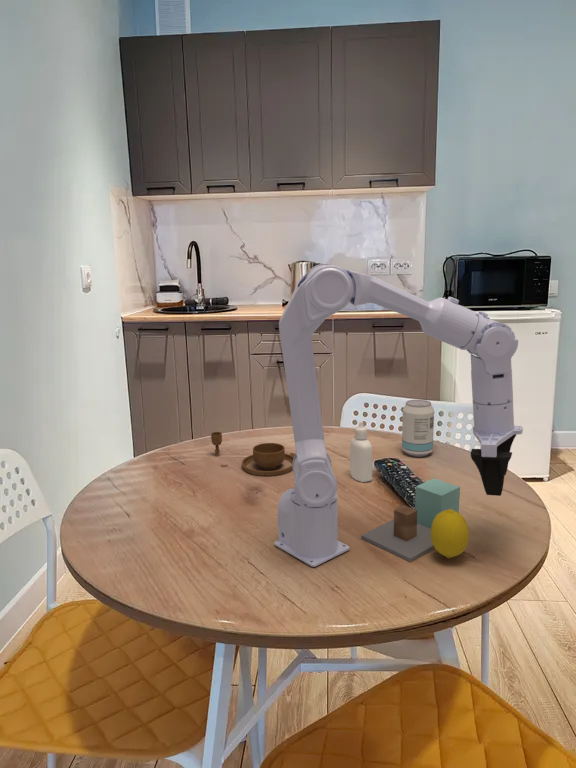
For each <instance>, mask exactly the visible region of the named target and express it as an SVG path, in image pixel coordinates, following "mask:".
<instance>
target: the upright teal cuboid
mask: <svg viewBox="0 0 576 768" xmlns="http://www.w3.org/2000/svg"><path fill="white" fill-rule="evenodd" d="M414 493H415V499H414V501H415V503H414V509H415V510H417V523H418V524H421V525H423V526H425V527H428V528H430V529H431V526H432V523H433V520H434V518H435V517H436V515H437V514H439V513H440V512H442V511H445V510H448V509H453V510H454V511H456V512H458V513H460V496H461V495H460V494H461V486H459V485H455V484H452V483H450V482H447V481H443V480H441V479H437V478H432V479H430V480H429V479H428V480H427V481H425V482H422V483H420V484H418V485H416V486H415V492H414Z"/></svg>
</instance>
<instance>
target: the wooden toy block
mask: <svg viewBox="0 0 576 768" xmlns="http://www.w3.org/2000/svg"><path fill="white" fill-rule="evenodd" d="M393 519H394V536H396V537H398V538H400V539H402V540H405V541H408V540H410V539H412V538H414V537H416V536H417V510H415V508H414V507H410V506H407V505H402V506H400V507H398V508H396V509H393Z"/></svg>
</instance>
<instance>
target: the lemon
mask: <svg viewBox="0 0 576 768" xmlns="http://www.w3.org/2000/svg"><path fill="white" fill-rule="evenodd" d="M469 537H470V532H469V527H468V523H467V520H466V519H465V517H464V516H463V515H462V514H461V513H460V512H459V513H458V512H456V511H454V510H453V509H448V510H445V511H442V512H440V513H439V514H437V515H436V517H435V518H434V520H433V523H432V526H431V541H432V544H433V546H434V549H435V551H437V552H438V553H439V554H440V555H441V556H444V557H445V558H446V559H452V558H453V557H457V556H459V555H461V554H462V553H463V552H464V551H465V550H466V548H467V547H468V545H469V544H468V543H469Z"/></svg>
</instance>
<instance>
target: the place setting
mask: <svg viewBox="0 0 576 768" xmlns="http://www.w3.org/2000/svg"><path fill="white" fill-rule="evenodd" d="M222 435H223V434H222V432H220V431H213V432H211V433H210V438H211V444H212V445H213V446H215V447H214V448H215V449H214V452H215V454H214V457H220V456H221V454H220V449H219V448H220V445H221V444H222V442H223V436H222ZM295 454H296V453H293V452H290V453H289V454H288V453H285V446H284V445H283V444H280V443H277V442H264V443H263V442H262V443H260V444H256V445H254V446H253V447H252V454H250V455H248V456H246V457H245V458H243V459H242V461H241V466H242V469H243V470H244V471H245V472H247V474H250V475H253V476H258V477H276V476H281V475H285V474H288V473H290V472H293V468H292V463H293V459H294V457H295ZM284 461H286V462H289V463H291V465H290V466H288V467H286V468H282V469H277V468H278V467H279V466H281V465H282V464H283V462H284ZM252 462H253V463H255V464H256V465H258V466H259V467H260V468H261V469H264V470H258V469H257V470H256V469H252V468H249V467H247V466H248V465H249V464H251V463H252ZM220 467H221V468H227V467H229V465H227V464H221V465H220ZM274 469H276V470H274Z"/></svg>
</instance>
